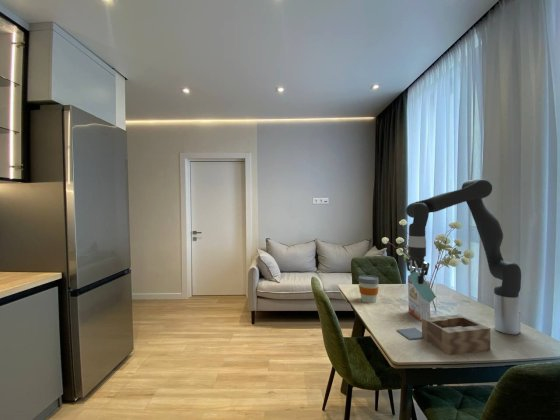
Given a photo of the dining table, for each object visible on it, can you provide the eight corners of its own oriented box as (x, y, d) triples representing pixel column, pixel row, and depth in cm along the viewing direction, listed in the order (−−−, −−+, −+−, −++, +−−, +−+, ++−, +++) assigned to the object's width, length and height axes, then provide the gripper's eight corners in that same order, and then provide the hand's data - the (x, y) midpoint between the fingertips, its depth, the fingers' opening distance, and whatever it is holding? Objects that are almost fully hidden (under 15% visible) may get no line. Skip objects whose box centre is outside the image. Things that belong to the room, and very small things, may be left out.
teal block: (423, 299, 136) (429, 294, 137) (430, 302, 132) (436, 296, 132) (407, 276, 135) (413, 271, 135) (414, 278, 130) (420, 273, 131)
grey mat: (415, 328, 141) (415, 327, 141) (429, 337, 131) (429, 336, 131) (396, 330, 139) (396, 329, 139) (409, 340, 129) (409, 338, 129)
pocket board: (459, 333, 135) (459, 314, 135) (490, 349, 119) (490, 328, 119) (421, 337, 131) (421, 318, 131) (448, 355, 116) (448, 332, 116)
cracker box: (407, 311, 165) (407, 275, 165) (418, 311, 165) (417, 274, 165) (419, 320, 151) (418, 281, 151) (430, 320, 151) (430, 281, 151)
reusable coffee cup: (380, 304, 178) (380, 280, 178) (359, 303, 180) (359, 279, 180) (377, 297, 190) (376, 275, 190) (357, 297, 192) (357, 274, 192)
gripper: (435, 247, 127) (435, 286, 127) (414, 243, 141) (413, 278, 141) (420, 248, 125) (420, 287, 125) (400, 244, 139) (400, 279, 139)
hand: (416, 282), depth 133 cm, fingers closed on teal block, 4 cm apart
